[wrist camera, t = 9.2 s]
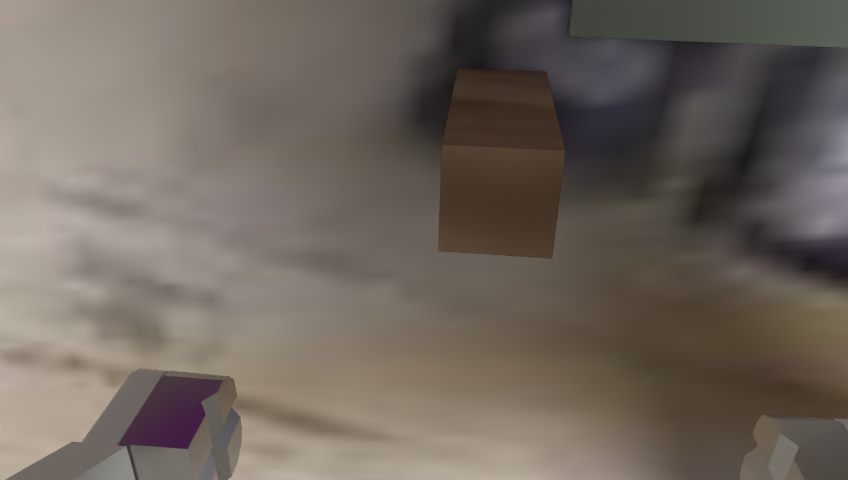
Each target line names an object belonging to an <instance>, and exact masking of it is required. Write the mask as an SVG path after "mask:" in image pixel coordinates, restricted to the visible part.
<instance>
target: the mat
mask: <svg viewBox="0 0 848 480" xmlns="http://www.w3.org/2000/svg"><path fill="white" fill-rule="evenodd" d="M568 35H569V37H590V38H615V39H641V40H666V41H692V42H717V43H742V44H768V45H793V46H819V47H844V48H848V0H571V9H570V17H569V26H568Z"/></svg>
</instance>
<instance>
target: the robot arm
mask: <svg viewBox="0 0 848 480" xmlns="http://www.w3.org/2000/svg"><path fill="white" fill-rule="evenodd" d="M236 397H237V393H236V388H235V383H234V379H232V378H231V377H229V376H221V375H210V374H200V373H189V372H179V371H161V370H151V369H141V368H139V369H137V370H136V371H134V372H132V373H131V374H130V375H129V376H128V378H127V379H126V381H125V382H124V383H123V385H122V386H121V388H120V389H119V390H118V392H117V393H116V395H115V396H114V397H113V399H112V400H111V402H110V403H109V405H108V406H107V407H106V409H105V410H104V412H103V413H102V414H101V416H100V417H99V419H98V420H97V421H96V423H95V424H94V426H93V427H92V428H91V430H90V431H89V433H88V434H87V435H86V437H85V438H84V440H83V441H82V442H71V443H69V444H67V445H66V446H64V447H62V448H60V449H59V450H57V451H55V452H53V453H52V454H50V455H48V456H46V457H45V458H43V459H41V460H39V461H38V462H36V463H34V464H32V465H30V466H29V467H27V468H25V469H23V470H22V471H20V472H18V473H16V474H15V475H13V476H11V477H9V478H8V479H6V480H228V479H229V478H230V477H232V475H233V472H234V470H235V467H236V465H237V462H238V458H239V453H240V448H241V443H242V425H241V418H240V416H239V415H238V414H237V413H236V412H235V411H234V410H233V409H232V405H233V403H234V401H235V399H236ZM752 434H753V436H754V438H755V440H756V442H757V445H758V446H757V447H756V448H754V449H753V450H751V451H750V452H748V453H747V454H746V455H745V456H744V460H743V463H742V466H741V470H740V480H848V419H825V418H810V417H794V416H779V415H762V416H761V418H760V419H759V420H758V421H757V423H756V425H755V428H754V431H753V433H752Z"/></svg>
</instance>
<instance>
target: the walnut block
mask: <svg viewBox="0 0 848 480" xmlns="http://www.w3.org/2000/svg"><path fill="white" fill-rule="evenodd" d="M564 159H565V147H564V143H563V139H562V135H561V131H560V127H559V122H558V118H557V114H556V110H555V106H554V102H553V98H552V94H551V90H550V86H549V82H548V78H547V74H546V72H537V71H514V70H490V69H467V68H458V70H457V75H456V79H455V84H454V89H453V94H452V99H451V103H450V108H449V113H448V118H447V122H446V127H445V132H444V137H443V141H442V154H441V185H440V215H439V245H438V251H445V252H461V253H476V254H492V255H507V256H523V257H539V258H552V254H553V246H554V238H555V230H556V222H557V214H558V206H559V198H560V191H561V183H562V175H563V167H564Z"/></svg>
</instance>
